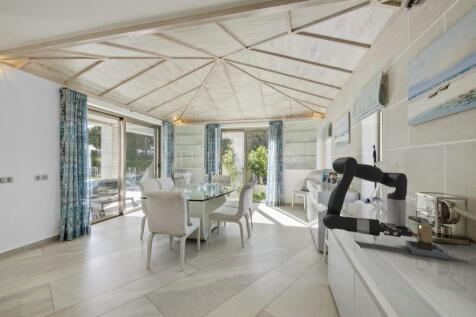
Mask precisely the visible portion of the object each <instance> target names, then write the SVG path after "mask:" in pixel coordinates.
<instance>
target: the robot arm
mask: <svg viewBox="0 0 476 317" xmlns="http://www.w3.org/2000/svg"><path fill="white" fill-rule="evenodd" d="M332 169H333V171H334V172H335V173H336V174H339V175H342V177H341V179H340V180H339V182H338V184H337V185H335V187H334V188H333V190H332V191H331V193H330V196H329V199H328V202H327V210H326V214H325V215H324V216H323V218H322V223H323V225H324V226H325V228H327V229H328V230H331V231H332V230H341V231H346V232H350V233H355V234H361V235H367V236H374V237H375V236H376V237H379V236H380V235H381V233H383V235H384V236H390V237H395V238H396V237H397V238H401V237H409V238H413V233H412V232H411V231H409V226H407V198H406V197H407V195H408V178H407V175H406V174H405V173H402V172H387V171H382V169H381V168H380V167H378V166H374V165H372V164H366V163H358V160H357V159H356V158H355V157H353V156H345V157H338V158H336V159H335V160H334V161H333V162H332ZM354 178H357V179H360V180H363V181H367V182H371V183H376V184H377V183H378V184H381V185H383V186H386V187H388V188H393V189H394V191H393V192H389V193H387V194H386V195H387V196H386V198H387V199H386V201H387V202H386V204H387V206H386V207H387V209H386V210H387V212H386V214H387V215H386V216H387V217H386V219H387V220H386V222H383V221H382V222H381V221H380V219H374V218H366V217H353V216H352V217H351V216H343V215H341V212H342V209H343V206H344V204H345V203H344V202H345V200H346V199H345V198H346V195H347V193H348V191H349V189H350V186H351V184H352V182H353V179H354Z"/></svg>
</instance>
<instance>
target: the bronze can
mask: <svg viewBox="0 0 476 317" xmlns="http://www.w3.org/2000/svg"><path fill="white" fill-rule="evenodd" d="M416 240H417V241H416V242H417V248H418V249H423V250H430V251H433V244H434V243H433V240H434V239H433V225H431V224H430V225H427V224H417V238H416Z"/></svg>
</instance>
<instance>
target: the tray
mask: <svg viewBox="0 0 476 317" xmlns="http://www.w3.org/2000/svg"><path fill="white" fill-rule="evenodd" d="M405 247H406V248H407V249H408V251H409V252H410V254H411V255H413V256H419V257H425V258H433V259H438V260H444V261H445V260H446V261H449V253H448V252H447V251H446V250H445V249H444V248H443V247H441V246H440V245H439V244H437V243H433V251H430V250H423V249H418V248H417V241H414V240H407V239H406V240H405Z"/></svg>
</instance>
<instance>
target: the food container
mask: <svg viewBox="0 0 476 317" xmlns="http://www.w3.org/2000/svg"><path fill="white" fill-rule="evenodd" d="M407 220H408V231H411V232H412V233H413V236H412V238H415V239H417V224H427V225H431V223H430V221H429V219H428V218H425V217H421V216H414V215H408V216H407Z"/></svg>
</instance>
